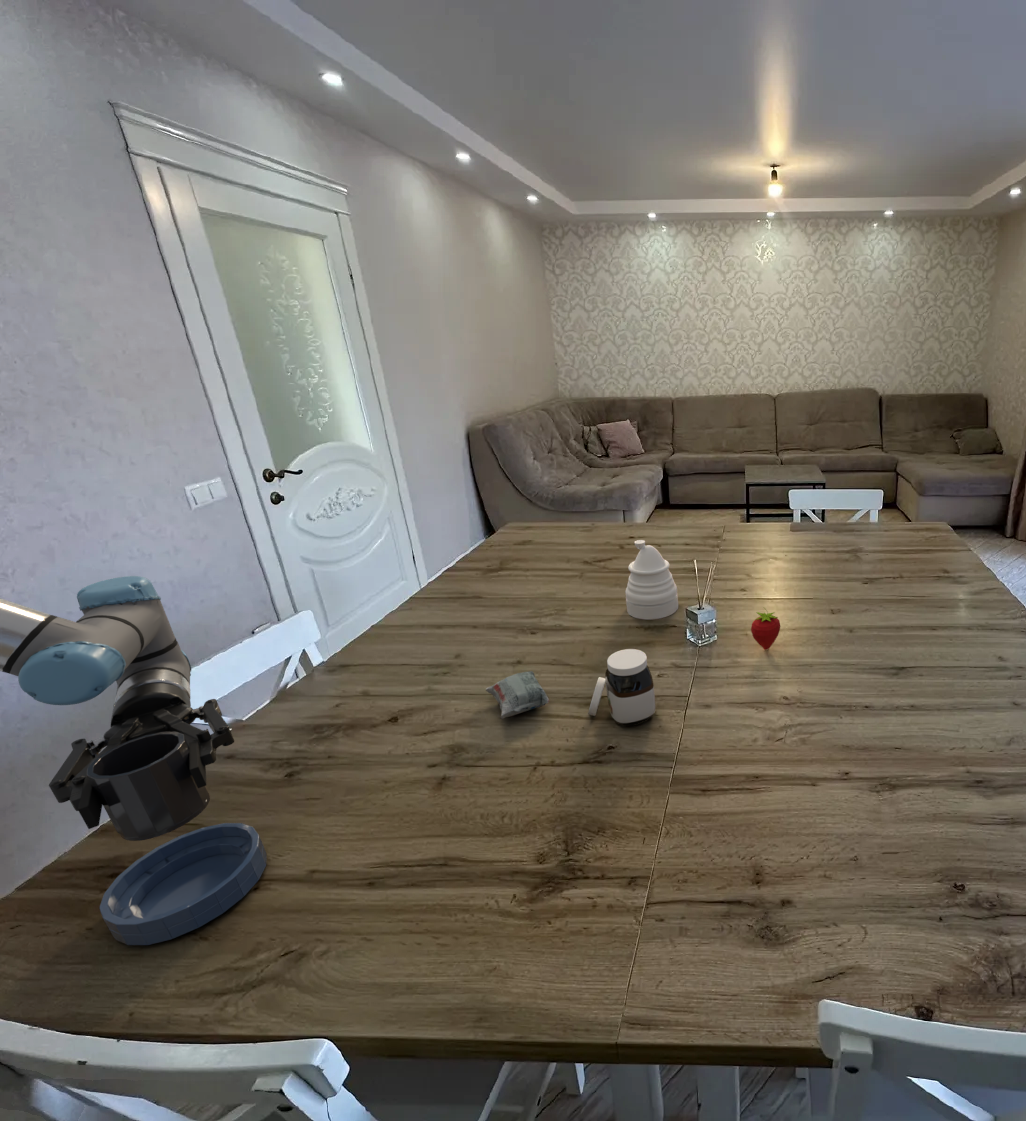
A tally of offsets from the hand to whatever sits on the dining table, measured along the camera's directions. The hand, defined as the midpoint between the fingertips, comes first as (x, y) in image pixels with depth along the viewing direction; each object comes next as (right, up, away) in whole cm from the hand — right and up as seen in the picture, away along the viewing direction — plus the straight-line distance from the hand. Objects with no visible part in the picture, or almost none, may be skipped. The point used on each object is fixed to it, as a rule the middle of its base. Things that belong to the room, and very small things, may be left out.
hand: (145, 796), depth 65 cm
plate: (-2, -15, +8) cm, 18 cm away
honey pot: (+43, +14, +83) cm, 94 cm away
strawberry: (+71, +7, +63) cm, 95 cm away
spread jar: (+44, -2, +42) cm, 60 cm away
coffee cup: (-3, -4, +5) cm, 8 cm away
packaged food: (+24, -1, +44) cm, 51 cm away
